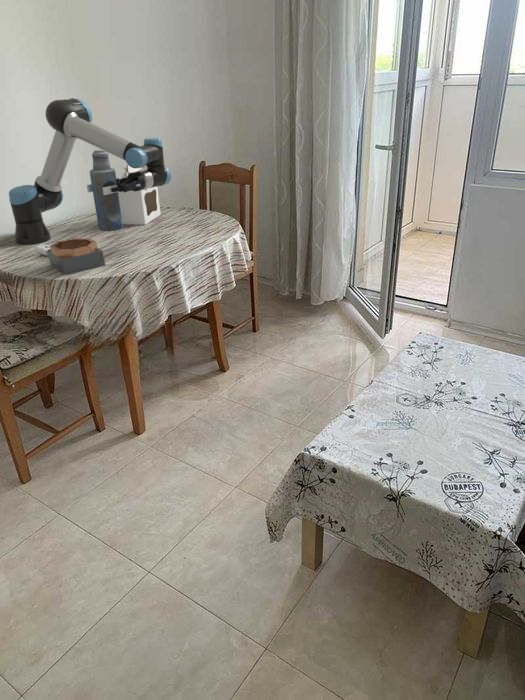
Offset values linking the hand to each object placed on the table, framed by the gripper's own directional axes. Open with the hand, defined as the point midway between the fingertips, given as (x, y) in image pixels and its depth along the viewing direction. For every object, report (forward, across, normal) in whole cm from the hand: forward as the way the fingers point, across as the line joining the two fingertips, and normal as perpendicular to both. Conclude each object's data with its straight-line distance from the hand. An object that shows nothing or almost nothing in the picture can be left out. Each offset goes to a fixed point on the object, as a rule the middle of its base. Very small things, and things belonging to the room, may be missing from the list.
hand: (95, 190), depth 203 cm
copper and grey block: (+12, +2, -27) cm, 30 cm away
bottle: (-4, 0, -16) cm, 17 cm away
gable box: (-53, +37, -28) cm, 70 cm away
